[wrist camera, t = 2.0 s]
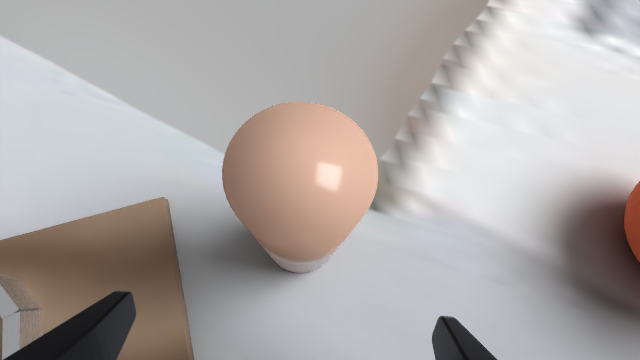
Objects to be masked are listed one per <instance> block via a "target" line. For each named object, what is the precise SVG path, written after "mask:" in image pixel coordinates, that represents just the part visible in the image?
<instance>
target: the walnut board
mask: <svg viewBox="0 0 640 360" xmlns="http://www.w3.org/2000/svg"><path fill="white" fill-rule="evenodd" d="M0 274H2V275H6V276H11V277H15V278H17V279H19V280H20V281H21V282H22V284H23V285H24V286H25V287H26V289H27V290H28V291H29V293H30V294H31V295H32V296H33V298H34V299H35V300H36V302H37V303H38V304H39V305H40V307H41V308H40V309H39V310H42V329H43V335H44V334H45V333H47V332H49V331H50V330H52V329H53V328H55V327H57V326H58V325H60V324H62V323H63V322H65V321H66V320H68V319H70V318H71V317H73V316H75V315H76V314H78V313H79V312H81V311H83V310H84V309H86V308H88V307H89V306H91V305H92V304H94V303H96V302H97V301H99V300H101V299H102V298H104V297H105V296H107V295H109V294H110V293H112V292H114V291H117V290H121V291H130V292H131V293H132V294H133V298H134V303H135V307H136V318H135V321H134V323H133V325H132V327H131V330H130V332H129V334H128V336H127V338H126V340H125V343H124V345H123V347H122V349H121V351H120V354H119V356H118V358H117V360H194V357H193V351H192V345H191V339H190V332H189V326H188V320H187V314H186V308H185V302H184V296H183V289H182V283H181V277H180V271H179V265H178V259H177V253H176V246H175V240H174V234H173V228H172V222H171V216H170V209H169V203H168V200H167V199H165V198H164V197H161V198H157V199H153V200H150V201H146V202H142V203H139V204H135V205H131V206H127V207H124V208H120V209H116V210H112V211H109V212H105V213H101V214H97V215H94V216H90V217H86V218H82V219H79V220H75V221H71V222H67V223H64V224H60V225H56V226H52V227H49V228H45V229H41V230H37V231H34V232H30V233H26V234H23V235H19V236H15V237H11V238H8V239H4V240H0ZM2 333H3V319H2V318H1V316H0V360H2Z"/></svg>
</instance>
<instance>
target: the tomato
mask: <svg viewBox="0 0 640 360" xmlns="http://www.w3.org/2000/svg"><path fill="white" fill-rule="evenodd" d="M624 228H625V233H626V237H627V241H628V243H629V245H630V247H631V250H632V252H633V253H634V255H635V256H636V258H637V260H638V261H639V262H640V182H639V183H638V184H637V185H636V187H635V188H634V190H633V191H632V193H631V194H630V196H629V199H628V201H627V204H626V210H625V217H624Z"/></svg>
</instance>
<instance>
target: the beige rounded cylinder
mask: <svg viewBox="0 0 640 360" xmlns="http://www.w3.org/2000/svg"><path fill="white" fill-rule="evenodd" d="M222 180H223V187H224V191H225V194H226V197H227V200H228V202H229V204H230V206H231V208H232V210H233V211H234V213H235V214H236V216H237V217H238V218H239V219H240V220H241V222H242V223H243V224H244V225H245V226H246V228H247V229H248V230H249V231H250V233H251V234H252V235H253V236H254V237H255V239H256V240H257V241H258V242H259V243H260V245H261V246H262V247H263V248H264V249H265V251H266V252H267V253H268V254H269V255H270V257H271V258H272V259H273V260H274V261H275V262H276V263H277V264H278V265H279V266H280V267H282V268H283V269H286V270H288V271H291V272H296V273H305V272H310V271H313V270H316V269H318V268H319V267H321V266H322V265H323V264H325V263H326V262H327V261H328V259H329V258H330V257H331V256H332V255H333V253H334V252H335V251H336V250H337V248H338V247H339V246H340V245H341V243H342V242H343V241H344V240H345V238H346V237H347V236H348V235H349V233H350V232H351V231H352V230H353V228H354V227H355V226H356V225H357V224H358V222H359V221H360V220H361V219H362V217H363V216H364V215H365V213H366V212H367V210H368V209H369V207H370V205H371V203H372V201H373V198H374V196H375V192H376V188H377V183H378V165H377V160H376V156H375V153H374V150H373V147H372V145H371V143H370V141H369V139H368V138H367V136H366V135H365V133H364V132H363V131H362V130H361V128H359V126H358V125H357V124H356V123H355V122H354V121H352V120H351V119H350V118H348V117H347V116H346V115H344V114H343V113H341V112H339V111H337V110H335V109H333V108H330V107H328V106H325V105H321V104H317V103H311V102H289V103H283V104H279V105H275V106H272V107H270V108H267V109H265V110H263V111H261V112H259V113H258V114H256V115H254V116H253V117H252V118H250V119H249V120H248V121H246V123H245V124H243V125H242V126H241V128H240V129H239V130H238V131H237V132H236V133H235V135H234V137H233V138H232V140H231V141H230V143H229V146H228V148H227V150H226V153H225V157H224V161H223V168H222Z"/></svg>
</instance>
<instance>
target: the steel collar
mask: <svg viewBox="0 0 640 360" xmlns="http://www.w3.org/2000/svg"><path fill="white" fill-rule="evenodd" d="M40 308H41V307H40V305H39V304H38V303H37V302H36V300H35V299H34V298H33V296H32V295H31V294H30V293H29V291H28V290H27V289H26V287H25V286H24V285H23V284H22V282H21V281H20V280H19V279H17V278H15V277H11V276H6V275H2V274H0V316H1V318H2V319H3V333H2V360H3V359H5V358H6V357H8V356H10V355H11V354H13V353H14V352H16V351H18V350H19V349H21V348H23V347H24V346H26V345H27V344H29V343H31V342H32V341H34V340H36V339H37V338H39V337H40V336H42V335H43V329H42V310H39V309H40Z"/></svg>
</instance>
